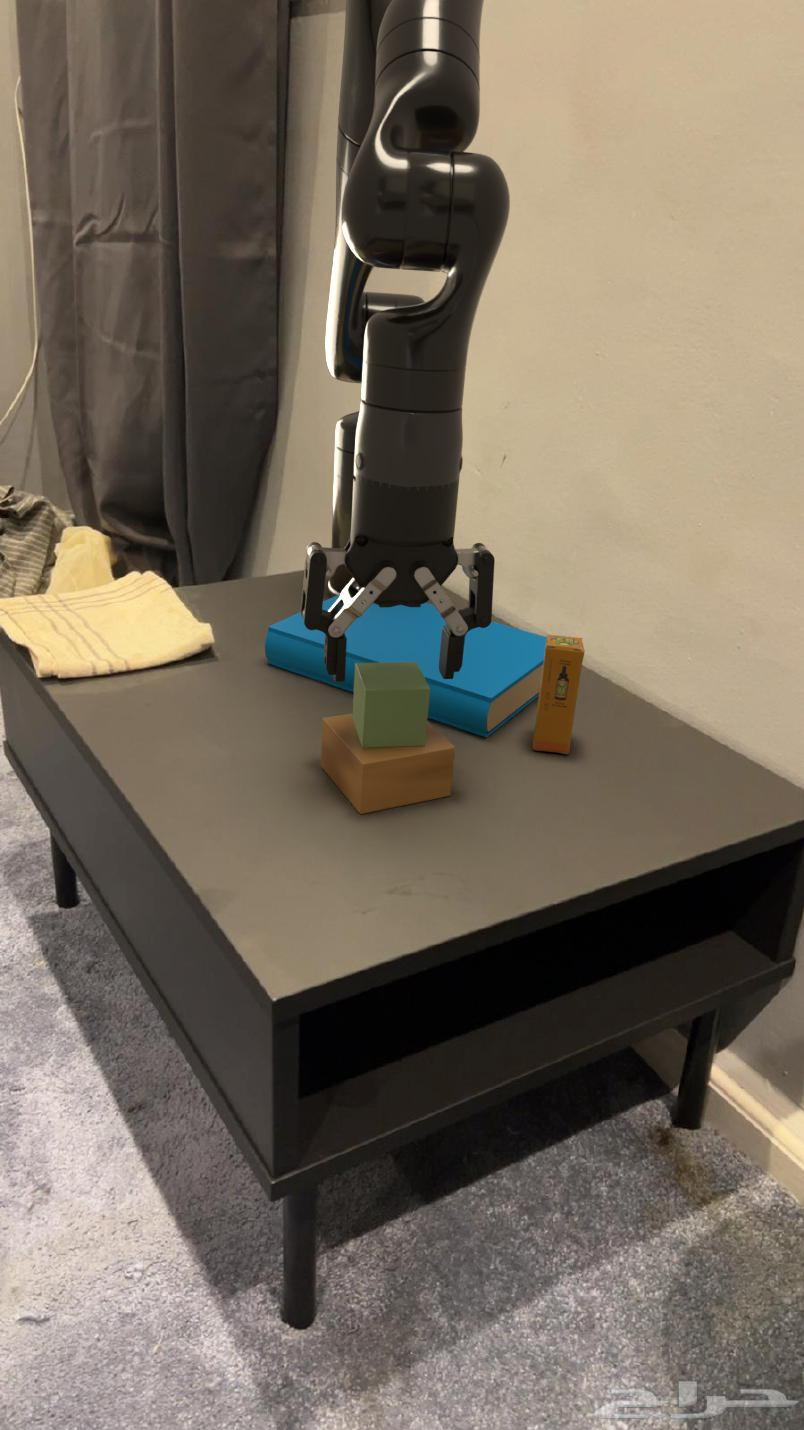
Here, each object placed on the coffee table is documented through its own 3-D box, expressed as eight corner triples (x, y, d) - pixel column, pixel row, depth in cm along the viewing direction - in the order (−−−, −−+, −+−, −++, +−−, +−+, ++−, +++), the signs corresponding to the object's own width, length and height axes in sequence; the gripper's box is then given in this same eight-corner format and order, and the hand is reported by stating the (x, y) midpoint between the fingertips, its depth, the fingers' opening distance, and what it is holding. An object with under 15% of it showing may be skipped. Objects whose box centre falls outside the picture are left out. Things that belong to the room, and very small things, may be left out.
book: (358, 583, 116) (568, 638, 105) (357, 620, 118) (563, 677, 107) (262, 628, 103) (491, 696, 92) (262, 668, 104) (486, 740, 93)
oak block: (320, 765, 87) (322, 717, 85) (406, 750, 91) (409, 703, 89) (360, 814, 81) (363, 763, 79) (450, 796, 84) (455, 747, 82)
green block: (352, 718, 86) (355, 662, 83) (411, 717, 87) (416, 661, 84) (362, 748, 81) (365, 690, 79) (425, 746, 82) (430, 688, 80)
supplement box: (569, 738, 95) (586, 636, 90) (568, 756, 92) (585, 651, 87) (532, 733, 95) (547, 631, 91) (530, 751, 92) (545, 646, 88)
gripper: (489, 458, 79) (468, 656, 86) (300, 453, 76) (295, 658, 83) (518, 483, 73) (493, 695, 80) (313, 480, 70) (306, 700, 77)
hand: (392, 676), depth 82 cm, fingers open, 8 cm apart
